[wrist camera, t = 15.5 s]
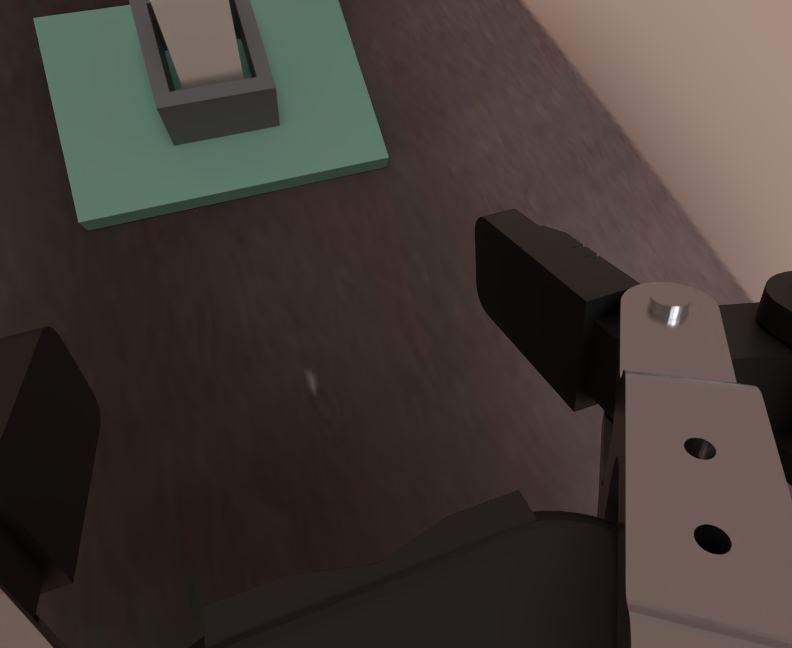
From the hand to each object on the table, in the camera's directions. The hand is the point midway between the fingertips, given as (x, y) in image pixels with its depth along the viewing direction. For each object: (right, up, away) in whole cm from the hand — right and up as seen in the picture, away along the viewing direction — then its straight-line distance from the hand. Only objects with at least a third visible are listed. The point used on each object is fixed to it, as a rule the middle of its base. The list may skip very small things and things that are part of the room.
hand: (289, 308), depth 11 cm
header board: (-11, +17, +31) cm, 37 cm away
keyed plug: (-11, +17, +29) cm, 36 cm away
